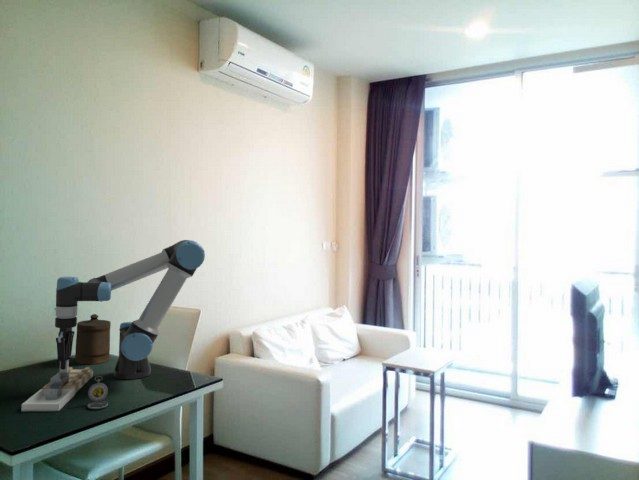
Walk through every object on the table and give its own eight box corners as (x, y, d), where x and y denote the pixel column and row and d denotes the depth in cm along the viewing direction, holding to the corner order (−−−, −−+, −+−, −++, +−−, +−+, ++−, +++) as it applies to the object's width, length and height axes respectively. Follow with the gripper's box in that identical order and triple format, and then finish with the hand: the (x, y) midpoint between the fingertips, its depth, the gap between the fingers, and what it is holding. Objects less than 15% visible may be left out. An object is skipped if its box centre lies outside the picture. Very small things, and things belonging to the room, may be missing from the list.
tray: (40, 395, 183) (40, 389, 183) (74, 395, 185) (74, 388, 185) (21, 411, 167) (21, 404, 167) (58, 411, 169) (59, 403, 169)
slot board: (65, 376, 207) (65, 366, 207) (92, 376, 209) (93, 366, 209) (42, 395, 183) (42, 384, 183) (73, 395, 185) (73, 384, 185)
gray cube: (57, 382, 190) (58, 372, 190) (68, 382, 190) (69, 372, 190) (53, 385, 186) (54, 375, 186) (65, 385, 186) (65, 375, 186)
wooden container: (114, 356, 240) (115, 312, 240) (101, 365, 226) (103, 317, 225) (84, 355, 240) (85, 311, 240) (69, 364, 225) (70, 316, 225)
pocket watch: (94, 411, 170) (95, 383, 170) (80, 406, 174) (81, 378, 174) (115, 405, 177) (116, 377, 177) (101, 400, 181) (102, 373, 181)
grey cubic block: (50, 385, 182) (45, 388, 178) (61, 385, 182) (57, 388, 178) (49, 395, 182) (45, 399, 178) (61, 395, 182) (57, 399, 178)
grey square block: (54, 385, 186) (54, 375, 186) (65, 385, 186) (65, 375, 186) (49, 389, 182) (50, 378, 182) (61, 389, 182) (61, 378, 182)
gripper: (62, 313, 196) (60, 371, 197) (49, 319, 183) (46, 381, 184) (82, 314, 197) (79, 372, 198) (70, 319, 184) (67, 382, 185)
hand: (63, 376), depth 191 cm, fingers closed
